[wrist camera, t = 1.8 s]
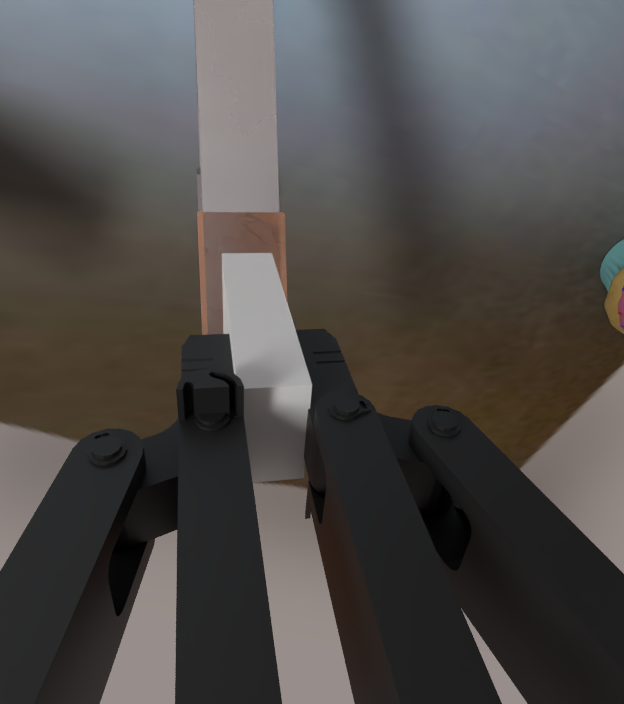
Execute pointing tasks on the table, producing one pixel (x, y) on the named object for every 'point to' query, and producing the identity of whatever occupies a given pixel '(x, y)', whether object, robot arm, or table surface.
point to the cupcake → (614, 285)
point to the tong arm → (236, 143)
